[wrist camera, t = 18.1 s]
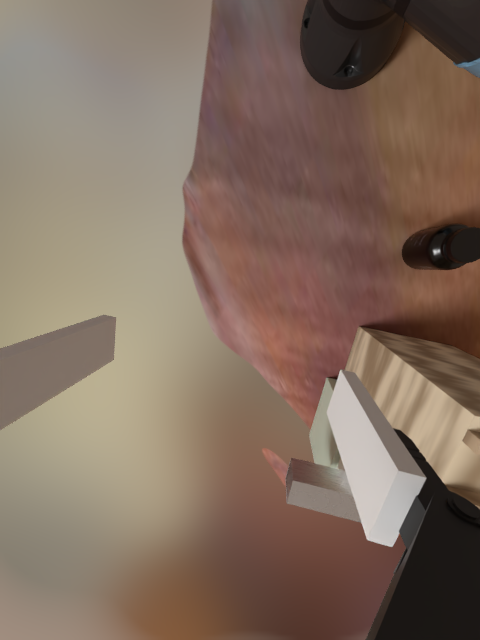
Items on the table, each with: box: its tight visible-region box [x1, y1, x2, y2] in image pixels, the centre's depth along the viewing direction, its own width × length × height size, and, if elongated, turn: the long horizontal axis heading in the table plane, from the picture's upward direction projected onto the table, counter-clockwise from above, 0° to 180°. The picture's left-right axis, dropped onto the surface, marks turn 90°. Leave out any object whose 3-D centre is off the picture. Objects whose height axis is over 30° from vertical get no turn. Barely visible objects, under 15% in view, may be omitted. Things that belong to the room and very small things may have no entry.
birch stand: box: [345, 326, 480, 509], centre depth 35 cm, size 18×10×32 cm, turn 79°
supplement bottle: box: [402, 224, 480, 270], centre depth 40 cm, size 7×7×12 cm
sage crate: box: [309, 377, 341, 468], centre depth 47 cm, size 15×15×15 cm
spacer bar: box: [286, 458, 362, 523], centre depth 34 cm, size 30×4×4 cm, turn 80°
